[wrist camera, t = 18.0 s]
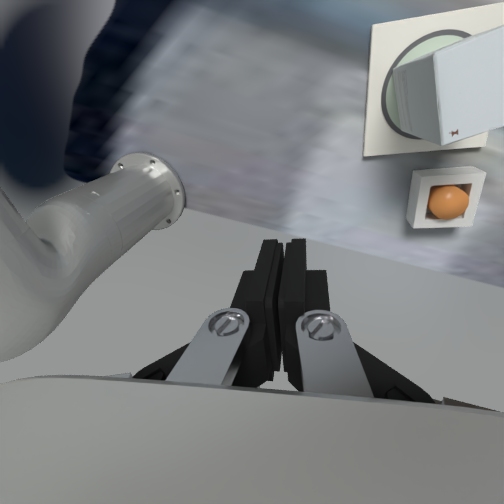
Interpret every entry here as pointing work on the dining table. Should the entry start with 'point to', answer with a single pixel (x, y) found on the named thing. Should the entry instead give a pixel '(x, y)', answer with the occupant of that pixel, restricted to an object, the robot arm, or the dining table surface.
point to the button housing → (458, 176)
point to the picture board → (406, 49)
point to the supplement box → (453, 89)
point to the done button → (447, 201)
